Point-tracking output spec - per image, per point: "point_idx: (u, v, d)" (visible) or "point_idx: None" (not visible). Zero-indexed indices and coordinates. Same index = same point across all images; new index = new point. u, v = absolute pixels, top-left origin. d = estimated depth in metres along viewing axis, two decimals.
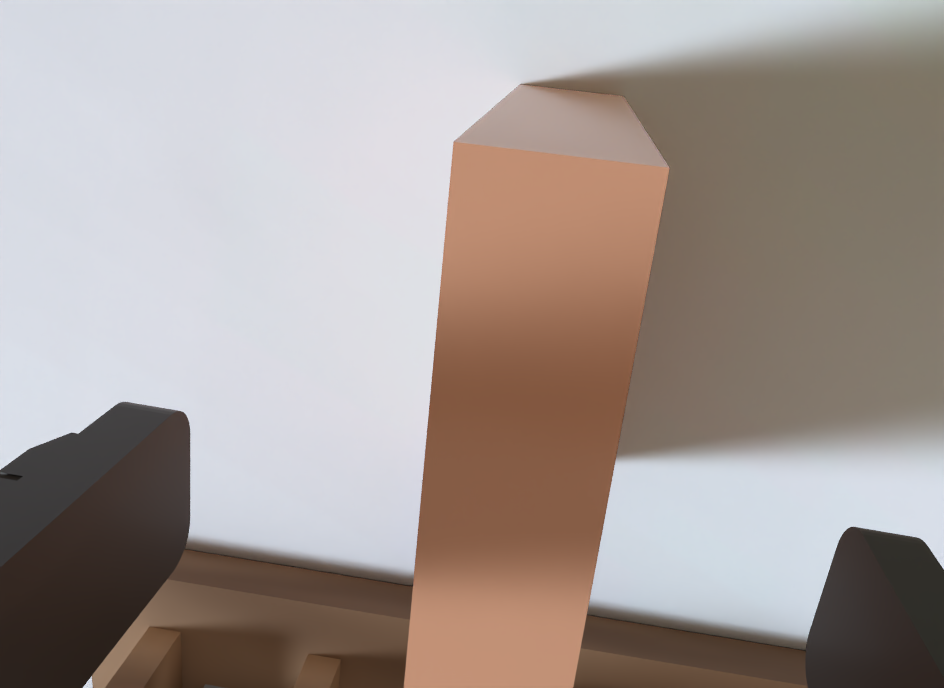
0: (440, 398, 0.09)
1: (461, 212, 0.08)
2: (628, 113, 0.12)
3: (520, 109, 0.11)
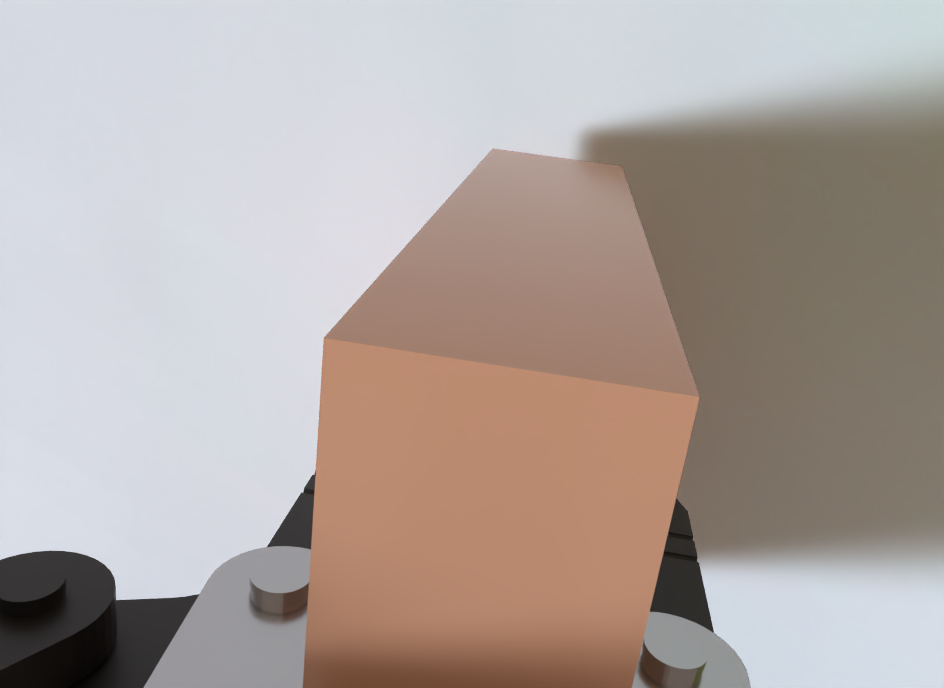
0: None
1: (341, 450, 0.05)
2: (628, 209, 0.09)
3: (476, 212, 0.08)
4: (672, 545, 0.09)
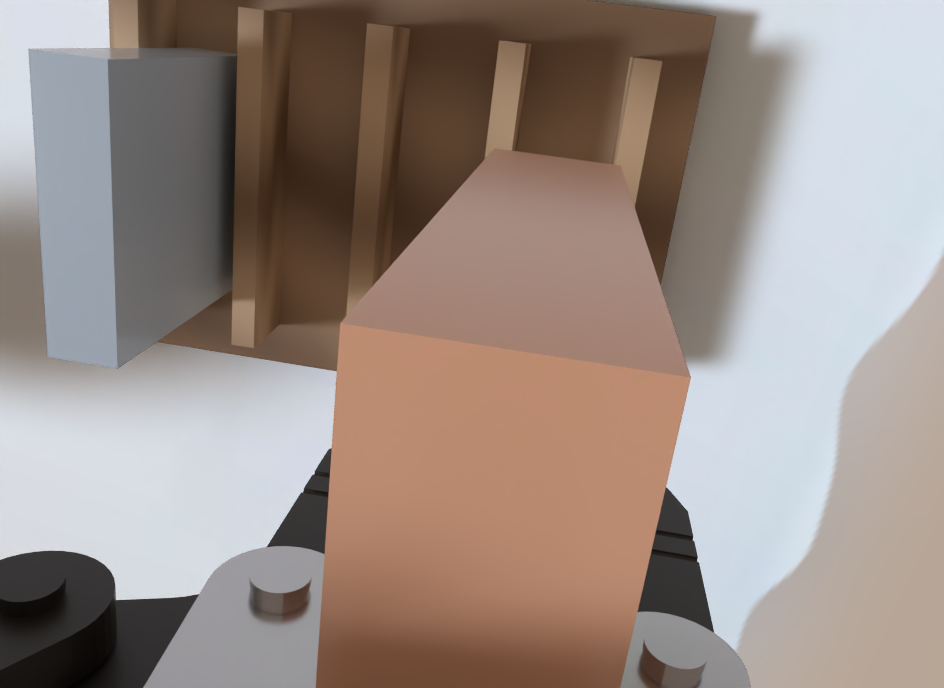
0: None
1: (356, 429, 0.05)
2: (626, 207, 0.10)
3: (480, 209, 0.08)
4: (672, 545, 0.09)
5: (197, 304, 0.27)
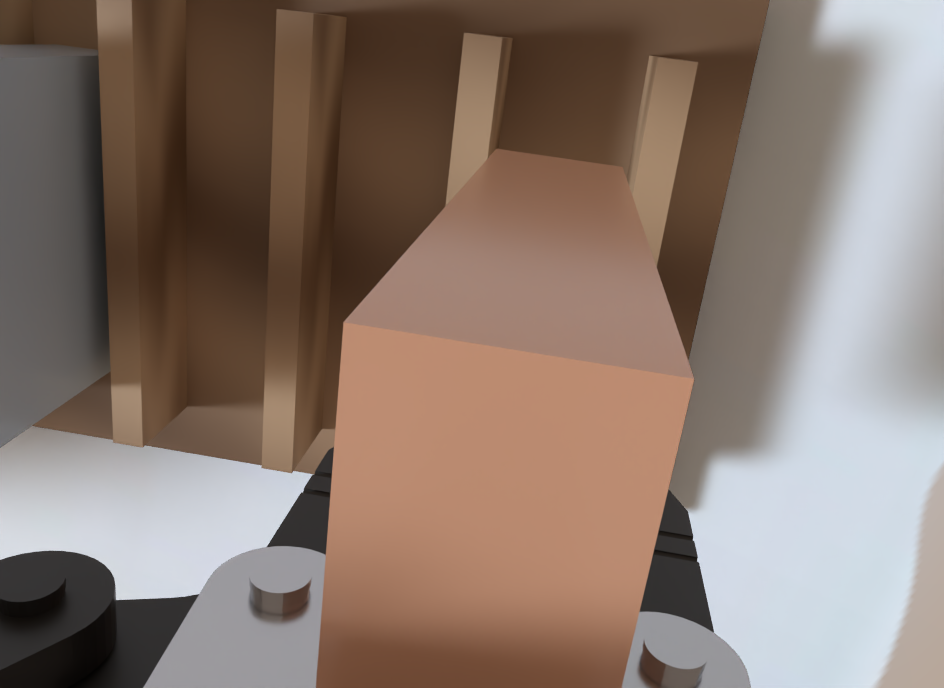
0: None
1: (358, 429, 0.05)
2: (628, 208, 0.10)
3: (482, 209, 0.08)
4: (672, 545, 0.09)
5: (54, 396, 0.20)
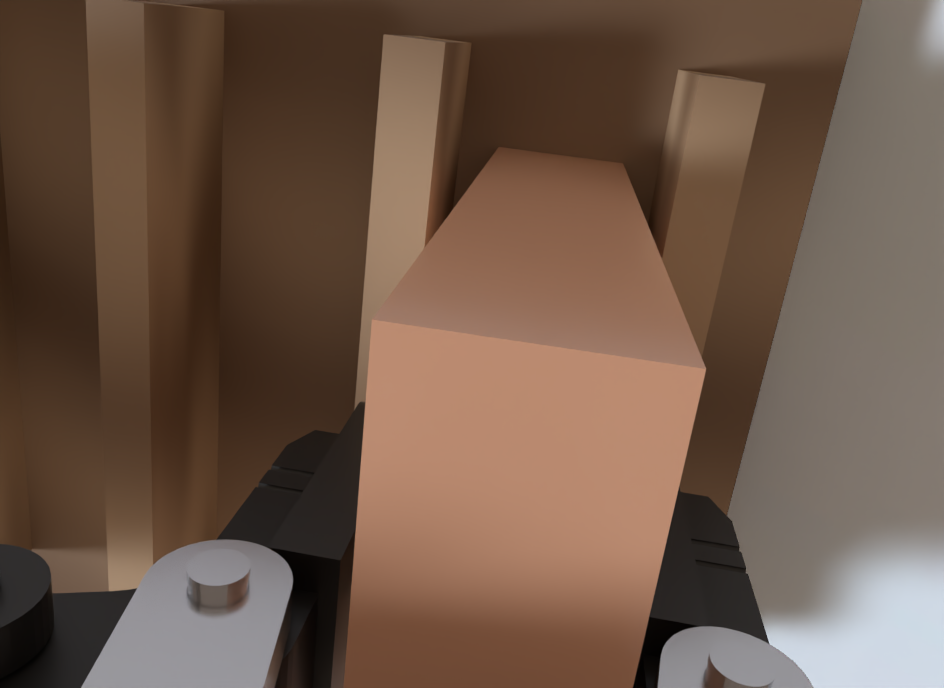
0: (360, 669, 0.06)
1: (386, 420, 0.05)
2: (631, 204, 0.10)
3: (491, 208, 0.09)
4: (720, 556, 0.09)
5: None
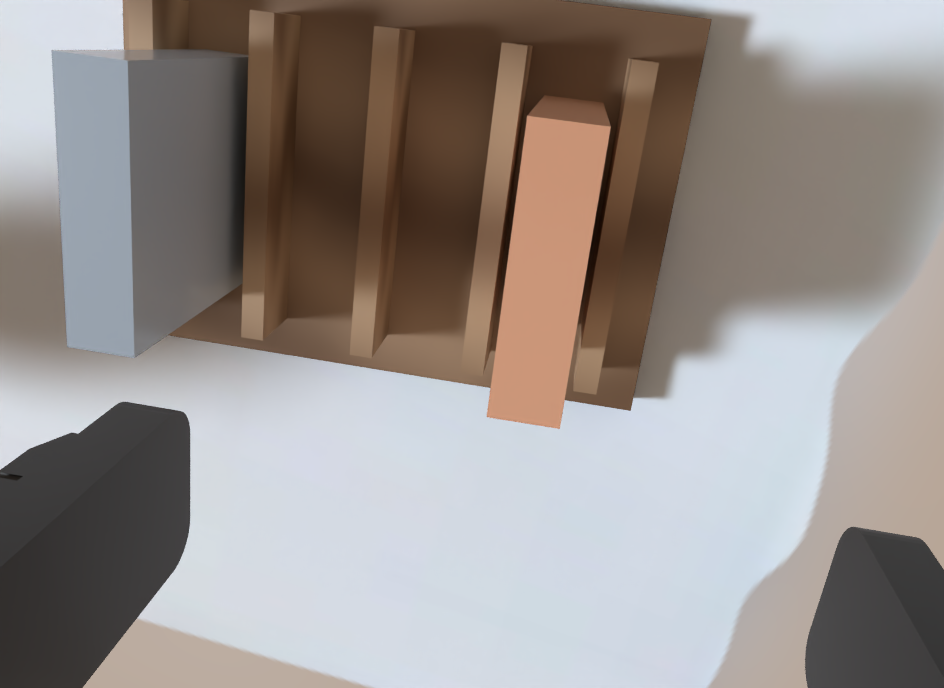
0: (517, 224, 0.21)
1: (529, 144, 0.20)
2: (602, 110, 0.25)
3: (548, 106, 0.24)
4: None
5: (209, 297, 0.28)
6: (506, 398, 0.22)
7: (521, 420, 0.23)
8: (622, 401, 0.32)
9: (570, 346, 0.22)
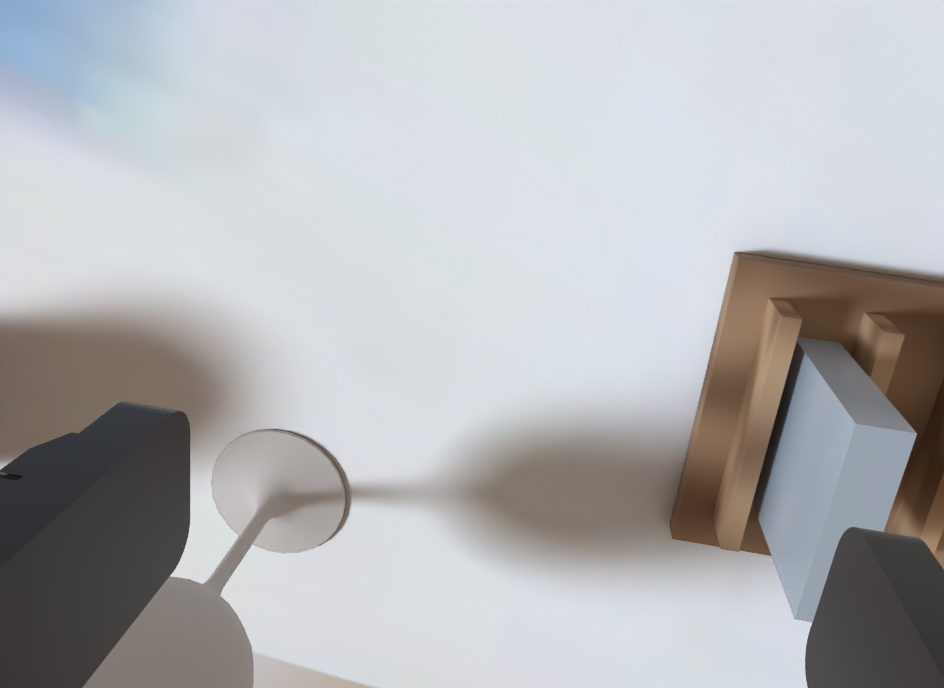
0: None
1: None
2: None
3: None
4: None
5: None
6: None
7: None
8: None
9: None
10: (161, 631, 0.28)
